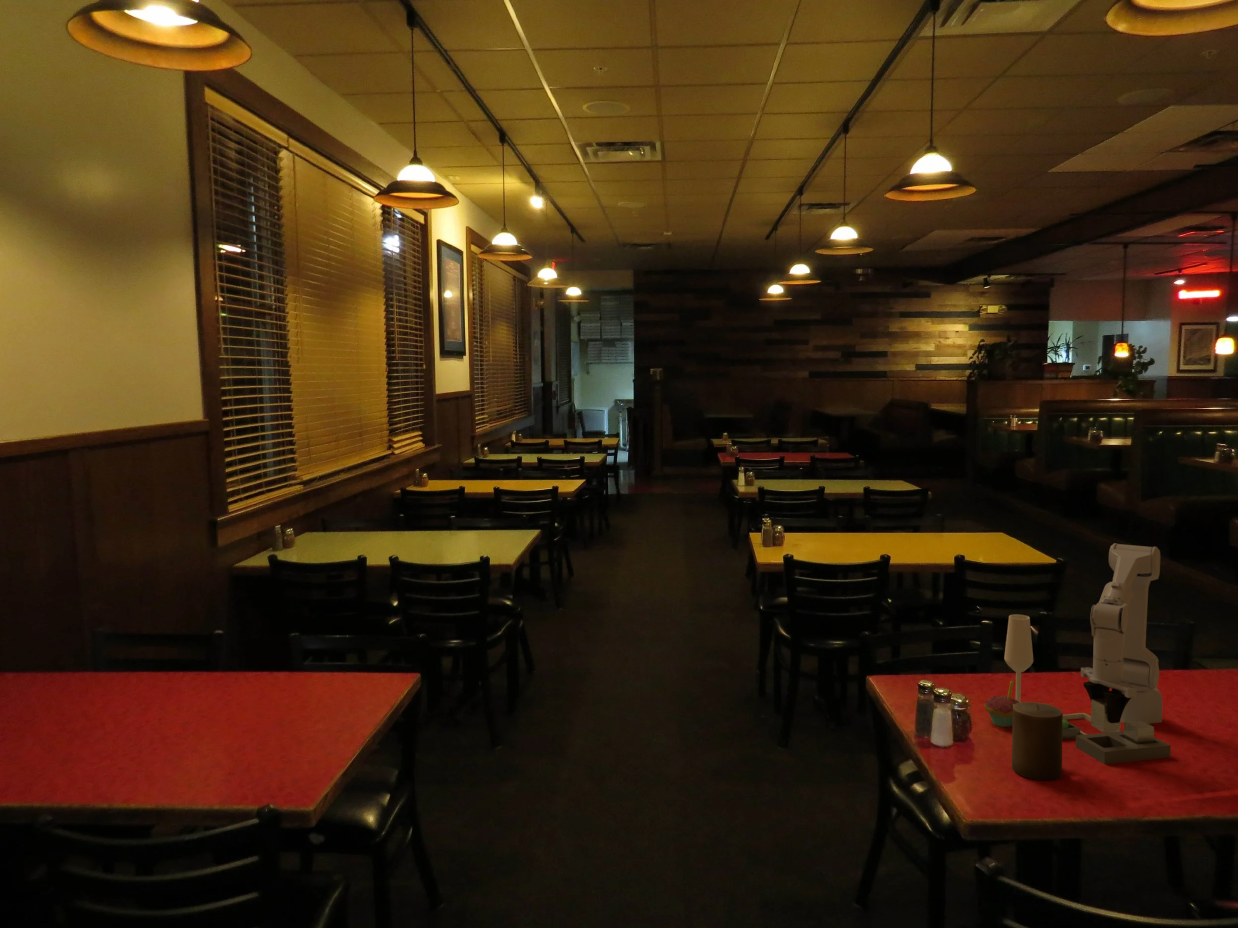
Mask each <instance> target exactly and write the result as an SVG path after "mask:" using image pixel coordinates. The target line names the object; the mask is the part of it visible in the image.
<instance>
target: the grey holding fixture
mask: <svg viewBox="0 0 1238 928" xmlns="http://www.w3.org/2000/svg"><path fill="white" fill-rule="evenodd" d="M1086 734H1087V735H1076V738H1075V748H1076V749H1078V750H1079V751H1081V752H1083V753H1085V754H1087V755H1088V756H1089V757H1092V758H1093V759H1095V760H1096V761H1098V762H1100V763H1101V764H1103V765H1109V764H1110V765H1111V764H1119V763H1128V762H1138V761H1139V762H1140V761H1149V760H1158V759H1168V758H1171V745H1170V744H1168V743H1167V742H1165V741H1163V740H1161V739H1159V738H1158V737H1155V736H1154V742H1153V743H1150V744H1140V745H1136V744H1134V743H1133V742H1131V741H1129V740H1127V739H1125V738H1124V730H1120V731H1118V732H1098V733H1089V734H1088V733H1086Z"/></svg>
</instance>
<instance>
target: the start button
mask: <svg viewBox="0 0 1238 928" xmlns="http://www.w3.org/2000/svg"><path fill="white" fill-rule="evenodd" d="M1068 724H1069V721H1068V720H1065V719H1063V721H1062V729H1064V728H1068Z"/></svg>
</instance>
